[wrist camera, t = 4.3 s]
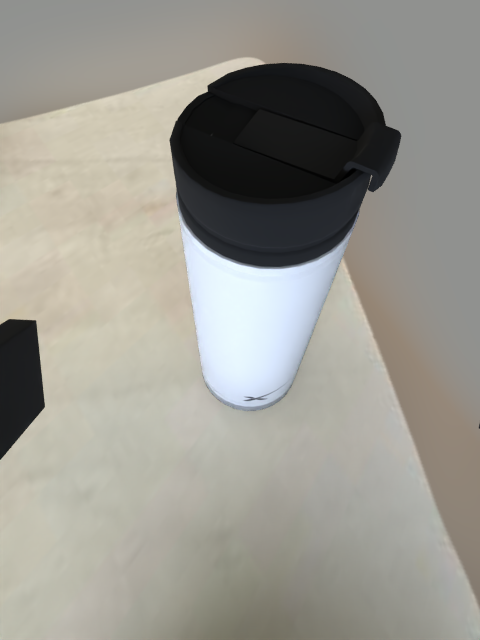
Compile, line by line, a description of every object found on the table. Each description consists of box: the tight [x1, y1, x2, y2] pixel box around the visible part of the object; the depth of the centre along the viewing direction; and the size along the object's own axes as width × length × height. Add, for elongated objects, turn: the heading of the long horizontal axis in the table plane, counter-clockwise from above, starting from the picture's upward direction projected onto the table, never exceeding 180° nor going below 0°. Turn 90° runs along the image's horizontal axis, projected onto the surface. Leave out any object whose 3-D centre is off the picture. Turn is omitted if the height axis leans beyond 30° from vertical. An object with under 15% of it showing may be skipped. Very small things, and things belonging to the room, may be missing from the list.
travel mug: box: [170, 63, 401, 411], centre depth 21 cm, size 6×7×20 cm
